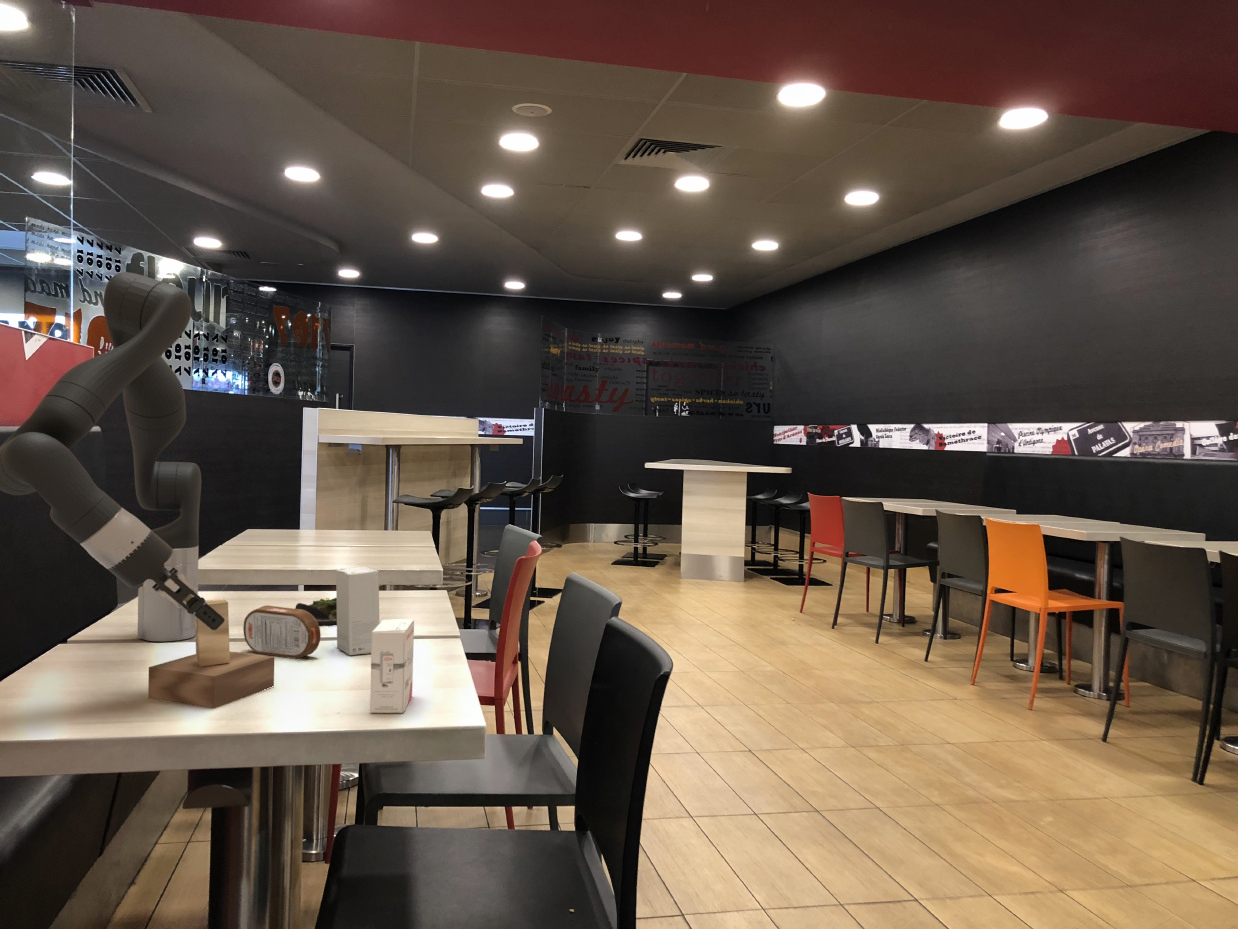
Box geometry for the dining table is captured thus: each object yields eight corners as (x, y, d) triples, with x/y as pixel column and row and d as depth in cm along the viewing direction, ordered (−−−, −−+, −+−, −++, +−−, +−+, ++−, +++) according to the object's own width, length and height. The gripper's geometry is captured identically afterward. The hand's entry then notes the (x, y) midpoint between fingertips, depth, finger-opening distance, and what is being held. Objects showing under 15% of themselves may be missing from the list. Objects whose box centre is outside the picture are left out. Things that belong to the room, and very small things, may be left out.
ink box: (380, 696, 128) (382, 617, 128) (413, 696, 128) (415, 617, 128) (368, 714, 119) (370, 630, 119) (404, 714, 120) (406, 630, 119)
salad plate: (290, 610, 192) (290, 590, 192) (372, 609, 196) (372, 589, 195) (274, 628, 173) (274, 606, 173) (365, 627, 177) (366, 605, 177)
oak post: (196, 661, 128) (194, 601, 127) (225, 656, 130) (223, 598, 130) (200, 666, 124) (198, 605, 124) (229, 662, 126) (228, 602, 126)
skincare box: (380, 653, 154) (382, 571, 153) (346, 657, 150) (348, 573, 150) (366, 643, 161) (367, 565, 160) (333, 647, 157) (335, 566, 157)
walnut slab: (148, 701, 124) (148, 667, 123) (211, 680, 135) (212, 649, 135) (214, 711, 120) (214, 676, 120) (273, 689, 131) (274, 657, 131)
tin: (321, 657, 150) (322, 610, 149) (309, 662, 147) (310, 613, 146) (252, 649, 154) (253, 603, 154) (239, 653, 151) (240, 605, 151)
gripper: (155, 532, 116) (244, 609, 123) (142, 523, 127) (223, 594, 134) (109, 573, 113) (203, 649, 120) (100, 561, 124) (185, 631, 131)
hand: (213, 620), depth 127 cm, fingers open, 8 cm apart
